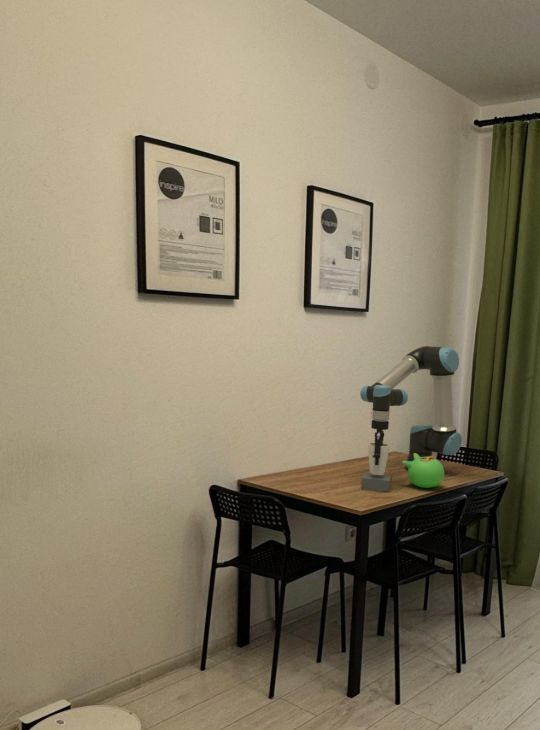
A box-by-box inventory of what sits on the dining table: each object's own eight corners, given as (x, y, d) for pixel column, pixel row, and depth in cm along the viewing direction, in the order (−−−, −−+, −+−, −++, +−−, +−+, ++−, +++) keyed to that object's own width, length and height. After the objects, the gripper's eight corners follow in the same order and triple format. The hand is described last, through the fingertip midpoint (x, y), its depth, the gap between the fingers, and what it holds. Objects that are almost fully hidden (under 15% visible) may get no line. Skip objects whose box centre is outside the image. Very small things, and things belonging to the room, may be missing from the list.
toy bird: (436, 494, 273) (438, 460, 272) (399, 487, 281) (401, 455, 281) (447, 486, 288) (449, 455, 288) (412, 480, 297) (414, 450, 296)
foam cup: (383, 471, 284) (385, 442, 283) (390, 476, 275) (392, 446, 274) (363, 470, 283) (365, 442, 282) (369, 475, 273) (371, 446, 273)
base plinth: (364, 483, 286) (364, 472, 286) (390, 486, 283) (391, 475, 283) (361, 489, 275) (361, 477, 274) (388, 492, 272) (389, 480, 271)
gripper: (373, 416, 289) (371, 464, 290) (369, 422, 268) (366, 474, 269) (390, 417, 287) (387, 466, 288) (387, 423, 266) (384, 476, 267)
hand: (377, 469), depth 279 cm, fingers closed on foam cup, 9 cm apart
